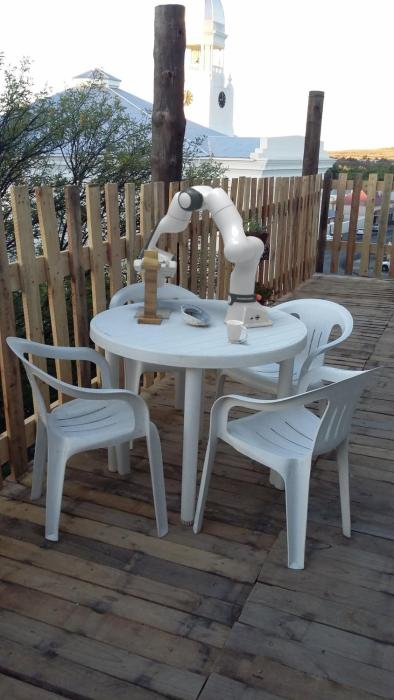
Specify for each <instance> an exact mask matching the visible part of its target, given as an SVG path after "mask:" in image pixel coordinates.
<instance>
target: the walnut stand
mask: <svg viewBox="0 0 394 700" xmlns="http://www.w3.org/2000/svg"><path fill="white" fill-rule="evenodd" d="M141 269H145V272H144V299H143V300H144V306H143V307H144V314H140V316H139V318H137V324H139V325H141V324H142V325H158V326H159V325H160V326H161V323H162V320H163V319H162V315H156V307H157V303H158V302H157V301H158V299H157V297H158V295H157V294H158V288H157V270H160V269H161V263H158V265H144V262H143V263H142V264H141Z"/></svg>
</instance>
